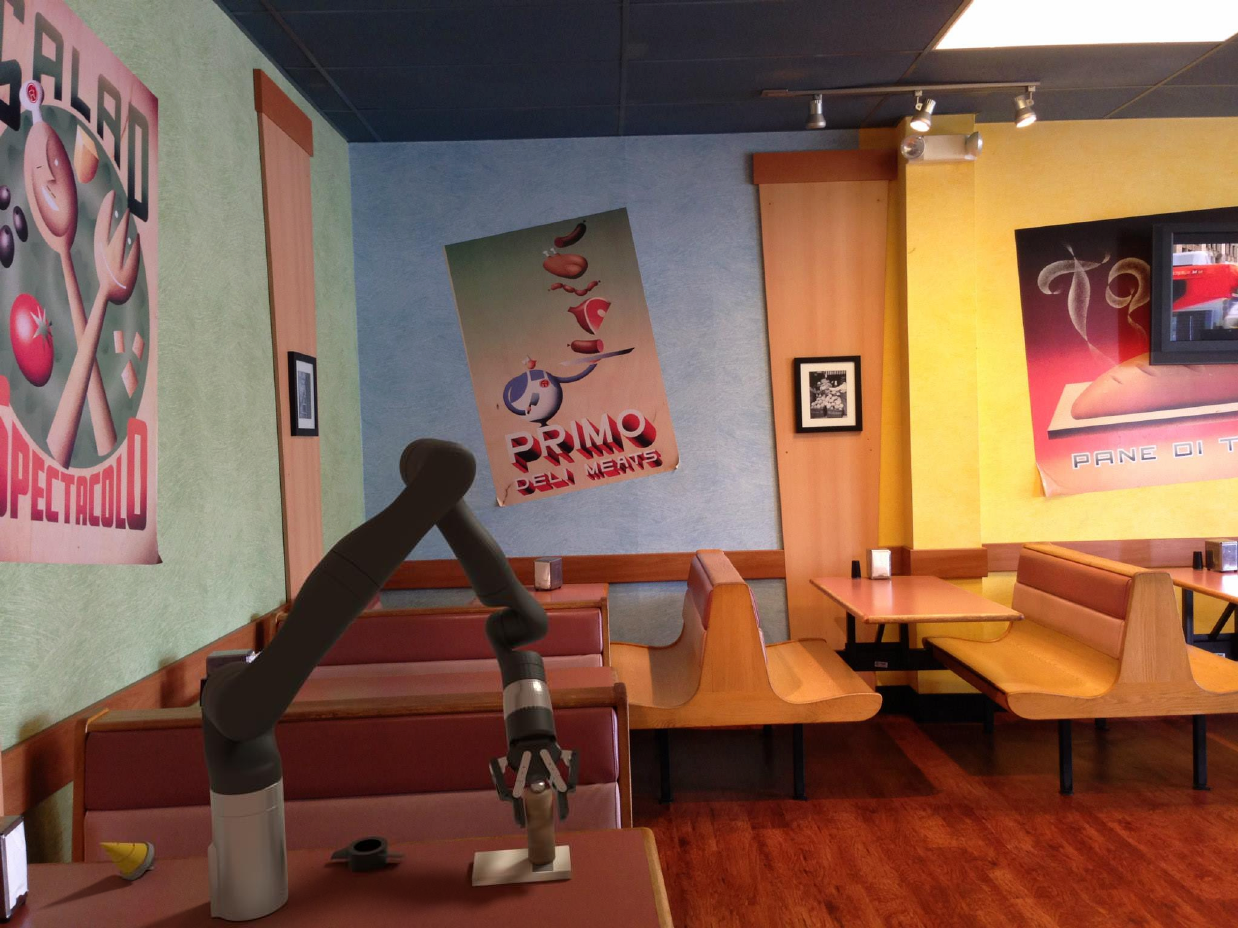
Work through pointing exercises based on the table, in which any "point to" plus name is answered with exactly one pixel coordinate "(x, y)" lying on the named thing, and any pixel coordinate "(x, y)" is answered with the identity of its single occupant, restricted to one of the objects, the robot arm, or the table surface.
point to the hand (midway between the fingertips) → (543, 822)
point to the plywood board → (518, 867)
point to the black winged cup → (366, 854)
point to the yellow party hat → (131, 857)
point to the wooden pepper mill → (539, 823)
